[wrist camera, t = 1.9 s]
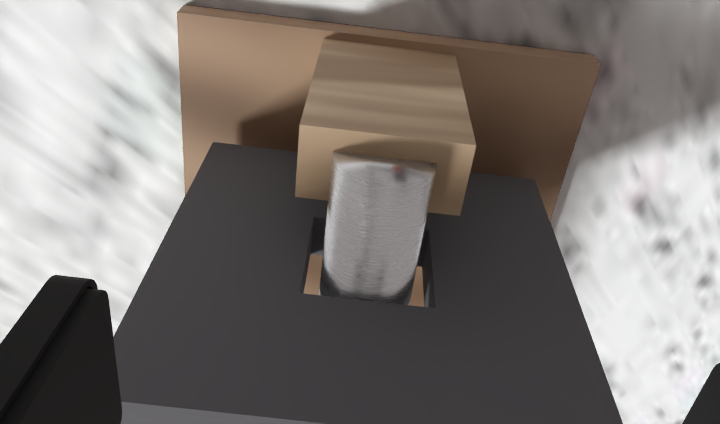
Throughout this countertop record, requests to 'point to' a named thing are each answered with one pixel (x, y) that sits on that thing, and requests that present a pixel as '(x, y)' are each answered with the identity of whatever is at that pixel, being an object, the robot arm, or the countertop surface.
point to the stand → (379, 103)
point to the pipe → (374, 226)
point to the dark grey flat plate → (354, 315)
